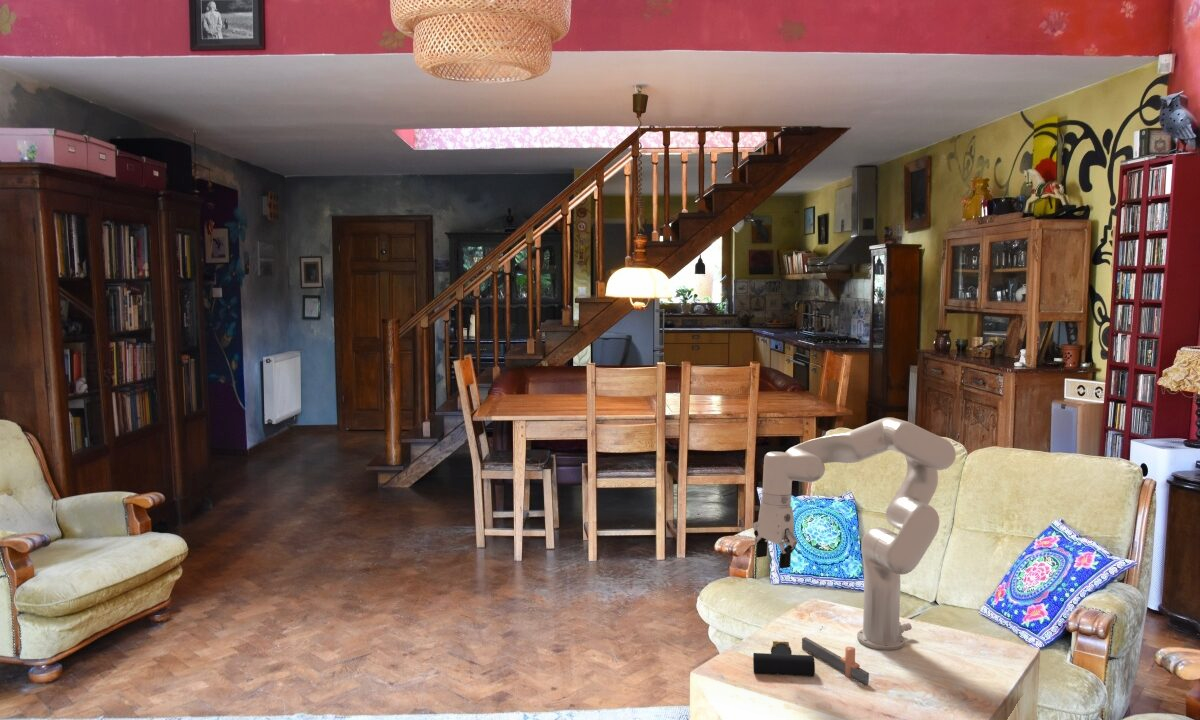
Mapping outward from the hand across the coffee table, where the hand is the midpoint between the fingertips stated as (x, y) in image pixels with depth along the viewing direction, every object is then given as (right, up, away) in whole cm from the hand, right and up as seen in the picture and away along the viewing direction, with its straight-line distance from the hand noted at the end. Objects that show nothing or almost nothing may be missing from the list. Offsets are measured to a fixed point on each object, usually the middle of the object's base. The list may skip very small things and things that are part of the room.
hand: (772, 561), depth 227 cm
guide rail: (+15, -26, -6) cm, 30 cm away
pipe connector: (+1, -26, -6) cm, 27 cm away
